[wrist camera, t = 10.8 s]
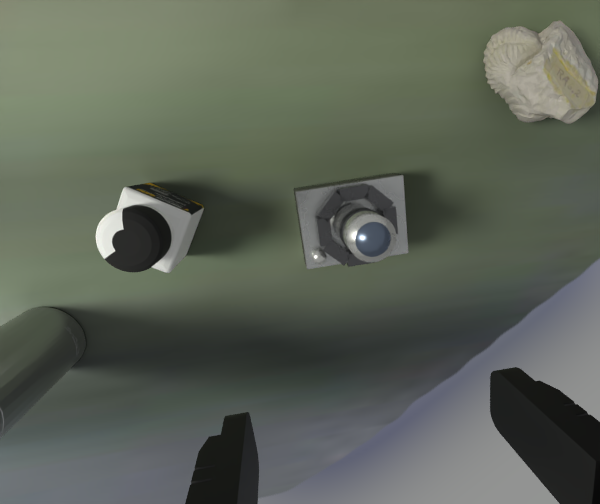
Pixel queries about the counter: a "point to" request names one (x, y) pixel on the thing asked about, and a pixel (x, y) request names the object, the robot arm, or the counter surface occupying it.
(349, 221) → the lens
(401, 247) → the octagon ring plate
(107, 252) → the medicine bottle
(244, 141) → the counter surface
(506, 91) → the fossil replica
